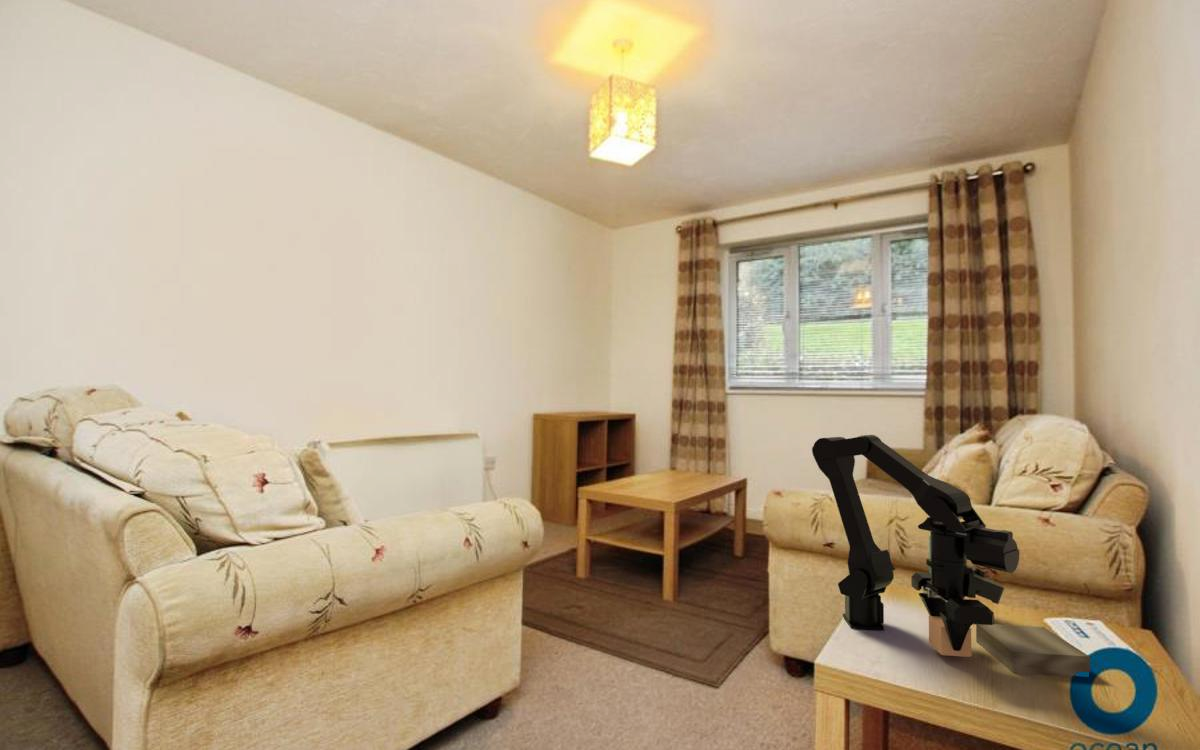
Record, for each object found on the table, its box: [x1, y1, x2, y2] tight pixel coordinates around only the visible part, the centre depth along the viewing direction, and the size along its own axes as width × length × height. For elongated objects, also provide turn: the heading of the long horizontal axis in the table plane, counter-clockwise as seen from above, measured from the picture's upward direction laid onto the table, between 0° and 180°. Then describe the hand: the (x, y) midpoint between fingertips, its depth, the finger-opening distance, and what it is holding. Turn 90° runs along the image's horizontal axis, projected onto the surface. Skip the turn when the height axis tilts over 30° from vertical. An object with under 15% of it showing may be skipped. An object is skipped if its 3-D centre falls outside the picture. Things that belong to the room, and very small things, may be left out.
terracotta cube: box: [928, 615, 972, 658], centre depth 103 cm, size 5×5×5 cm
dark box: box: [975, 623, 1091, 678], centre depth 102 cm, size 12×12×4 cm
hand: (949, 643), depth 103 cm, fingers closed on terracotta cube, 5 cm apart
